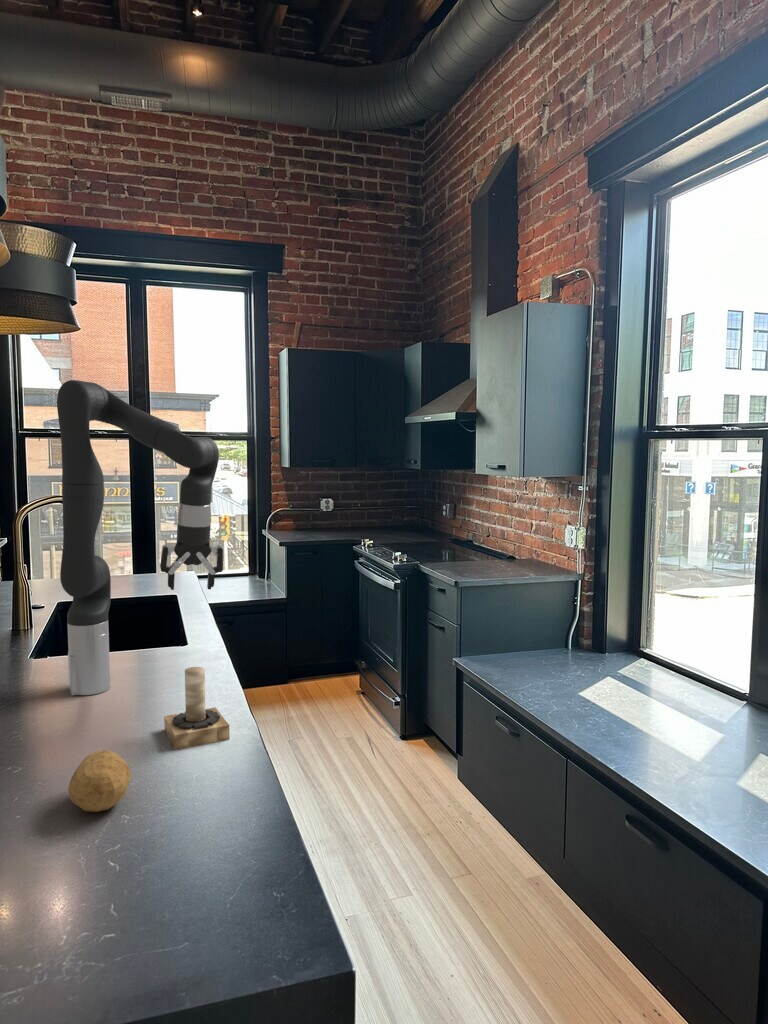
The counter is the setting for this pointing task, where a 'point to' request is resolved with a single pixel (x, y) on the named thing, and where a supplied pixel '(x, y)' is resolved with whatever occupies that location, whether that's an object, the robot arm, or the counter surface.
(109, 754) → the potato
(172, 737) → the socket
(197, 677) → the dowel
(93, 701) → the counter surface
